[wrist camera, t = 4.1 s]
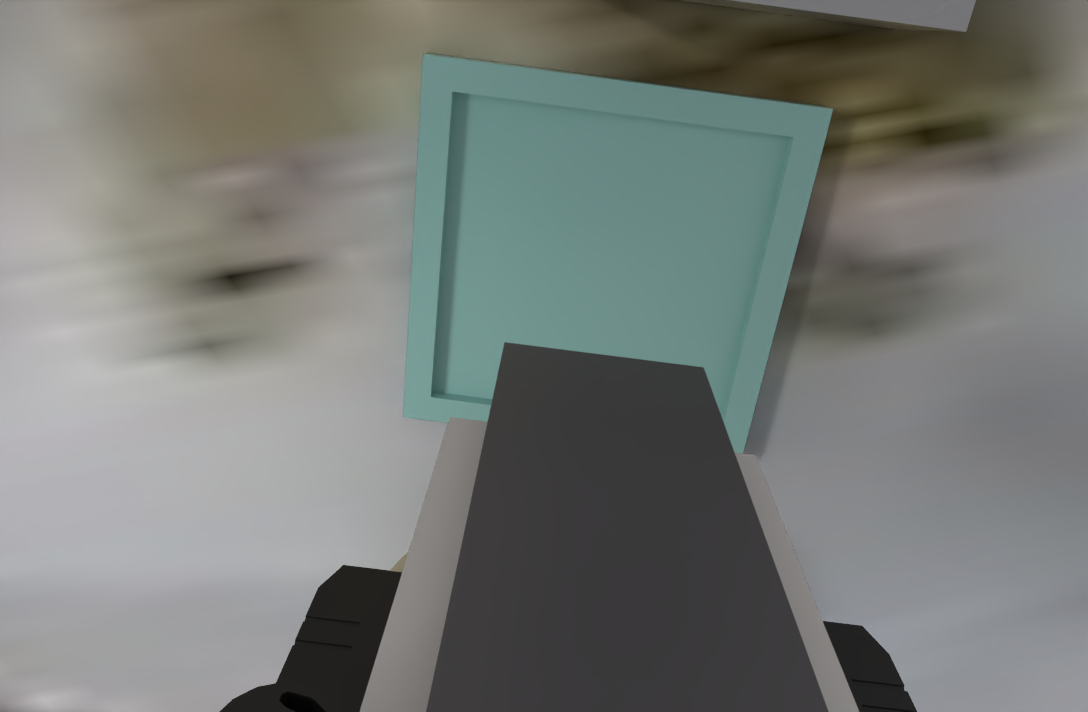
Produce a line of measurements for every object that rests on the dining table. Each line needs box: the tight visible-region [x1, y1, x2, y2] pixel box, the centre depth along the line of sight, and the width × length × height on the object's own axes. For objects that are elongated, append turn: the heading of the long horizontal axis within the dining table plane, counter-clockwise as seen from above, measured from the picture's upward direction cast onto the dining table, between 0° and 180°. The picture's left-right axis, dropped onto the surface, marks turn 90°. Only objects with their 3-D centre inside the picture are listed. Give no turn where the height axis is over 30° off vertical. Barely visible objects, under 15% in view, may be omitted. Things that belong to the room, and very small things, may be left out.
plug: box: [426, 342, 829, 712], centre depth 12 cm, size 4×4×10 cm
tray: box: [403, 53, 833, 454], centre depth 27 cm, size 13×13×1 cm
